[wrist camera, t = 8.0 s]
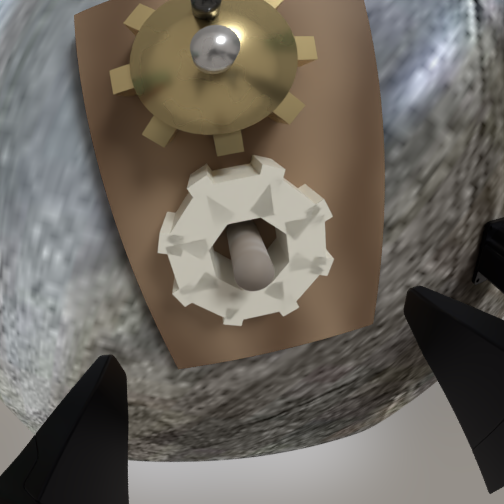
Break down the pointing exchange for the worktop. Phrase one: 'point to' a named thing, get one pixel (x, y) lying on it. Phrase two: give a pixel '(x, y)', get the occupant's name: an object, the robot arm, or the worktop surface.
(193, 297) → the loose gear
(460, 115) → the worktop surface
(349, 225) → the gear board
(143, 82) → the gear
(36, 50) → the worktop surface
